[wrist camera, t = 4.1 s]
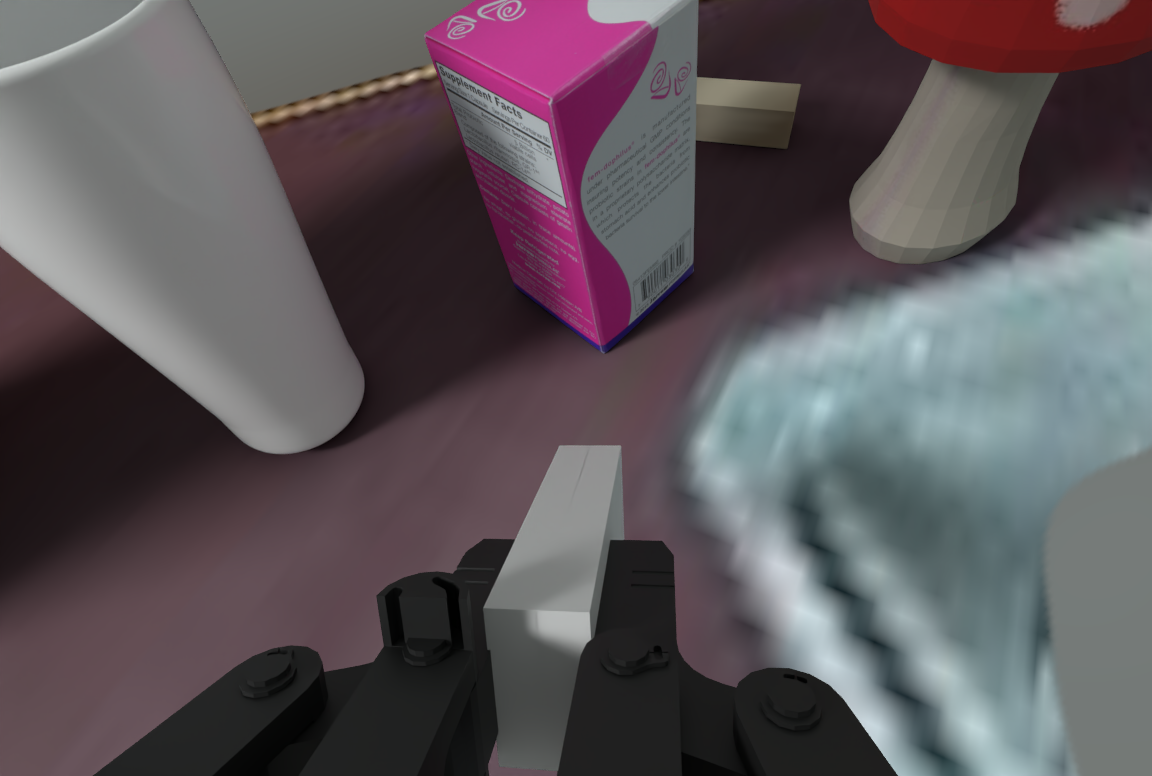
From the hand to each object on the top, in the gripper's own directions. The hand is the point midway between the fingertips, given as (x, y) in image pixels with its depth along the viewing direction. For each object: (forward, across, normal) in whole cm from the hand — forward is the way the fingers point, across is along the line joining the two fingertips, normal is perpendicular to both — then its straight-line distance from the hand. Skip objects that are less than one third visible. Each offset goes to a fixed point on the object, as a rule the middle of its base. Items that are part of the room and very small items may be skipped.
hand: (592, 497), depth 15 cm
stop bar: (+20, +1, +12) cm, 24 cm away
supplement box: (+13, -1, +4) cm, 14 cm away
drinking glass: (+9, -13, 0) cm, 15 cm away
